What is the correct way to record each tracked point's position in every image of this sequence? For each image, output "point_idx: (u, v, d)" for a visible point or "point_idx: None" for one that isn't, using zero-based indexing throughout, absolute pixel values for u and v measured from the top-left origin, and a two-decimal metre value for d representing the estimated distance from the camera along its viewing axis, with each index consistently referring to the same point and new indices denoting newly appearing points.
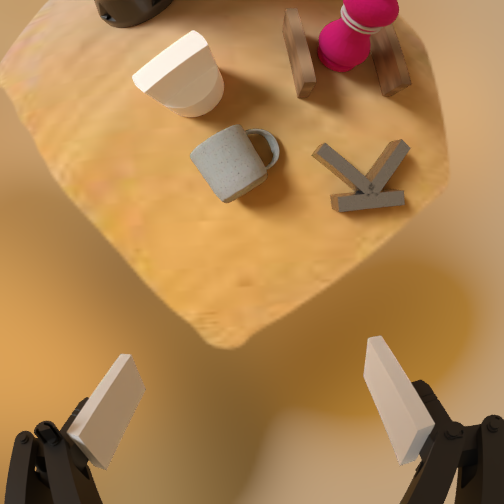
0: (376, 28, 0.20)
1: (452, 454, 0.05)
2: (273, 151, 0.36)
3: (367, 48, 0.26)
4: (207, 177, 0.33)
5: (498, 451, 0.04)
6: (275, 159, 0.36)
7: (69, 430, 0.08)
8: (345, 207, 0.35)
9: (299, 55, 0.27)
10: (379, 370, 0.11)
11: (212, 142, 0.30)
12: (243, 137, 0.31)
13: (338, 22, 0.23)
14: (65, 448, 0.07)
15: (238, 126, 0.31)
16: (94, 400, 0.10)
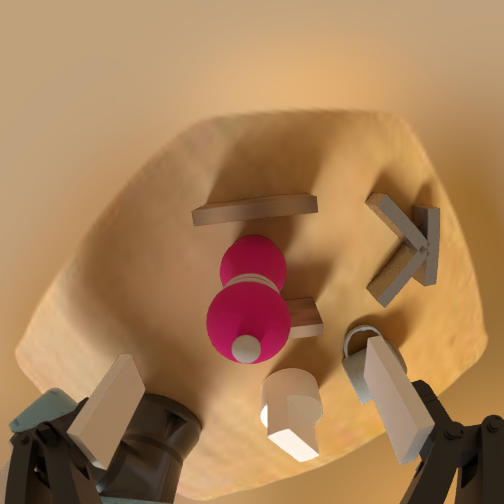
0: None
1: (452, 454, 0.05)
2: (366, 329, 0.36)
3: (271, 259, 0.27)
4: None
5: (498, 451, 0.04)
6: (375, 330, 0.35)
7: (69, 430, 0.08)
8: (434, 278, 0.30)
9: (288, 338, 0.30)
10: (379, 370, 0.11)
11: (364, 397, 0.31)
12: (361, 371, 0.32)
13: None
14: (65, 448, 0.07)
15: (349, 373, 0.33)
16: (94, 400, 0.10)
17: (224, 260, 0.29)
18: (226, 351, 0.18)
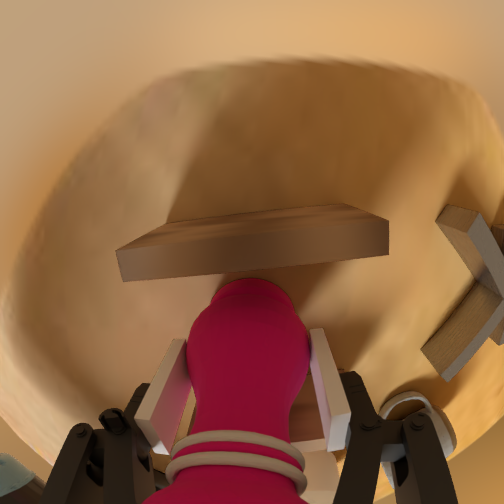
0: (298, 480, 0.06)
1: (373, 444, 0.07)
2: (410, 399, 0.21)
3: (284, 352, 0.12)
4: None
5: (429, 448, 0.06)
6: (423, 400, 0.20)
7: (136, 415, 0.09)
8: None
9: (306, 450, 0.15)
10: (314, 359, 0.13)
11: None
12: None
13: None
14: (131, 439, 0.08)
15: None
16: (158, 383, 0.11)
17: (190, 341, 0.14)
18: None
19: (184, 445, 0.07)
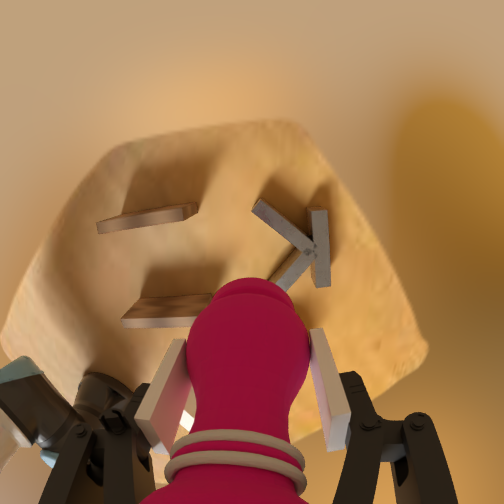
0: (298, 479, 0.06)
1: (373, 444, 0.07)
2: None
3: (284, 351, 0.12)
4: None
5: (428, 448, 0.06)
6: None
7: (137, 415, 0.09)
8: (327, 280, 0.35)
9: (175, 326, 0.35)
10: (315, 359, 0.13)
11: None
12: None
13: None
14: (131, 439, 0.08)
15: None
16: (158, 383, 0.11)
17: (190, 341, 0.14)
18: None
19: (183, 444, 0.07)
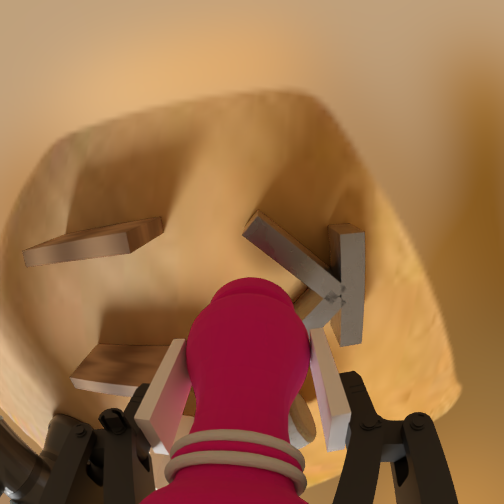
0: (298, 479, 0.06)
1: (373, 444, 0.07)
2: None
3: (284, 351, 0.12)
4: None
5: (428, 448, 0.06)
6: None
7: (136, 416, 0.09)
8: (357, 335, 0.22)
9: None
10: (314, 359, 0.13)
11: None
12: None
13: None
14: (131, 439, 0.08)
15: None
16: (157, 383, 0.11)
17: (190, 340, 0.14)
18: None
19: (183, 444, 0.07)
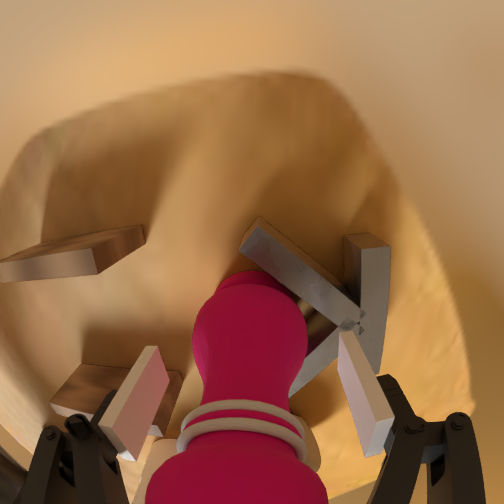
0: (299, 447, 0.08)
1: (415, 448, 0.06)
2: None
3: (284, 335, 0.14)
4: None
5: (466, 448, 0.05)
6: None
7: (101, 422, 0.09)
8: (375, 365, 0.18)
9: None
10: (347, 363, 0.12)
11: None
12: None
13: None
14: (96, 442, 0.08)
15: None
16: (124, 391, 0.11)
17: (197, 327, 0.15)
18: None
19: (194, 416, 0.09)
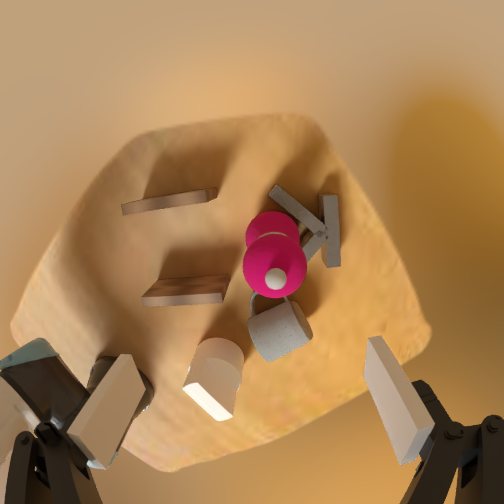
0: None
1: (452, 454, 0.05)
2: None
3: (288, 226, 0.34)
4: (290, 351, 0.40)
5: (498, 451, 0.04)
6: None
7: (69, 430, 0.08)
8: (337, 260, 0.38)
9: (194, 303, 0.37)
10: (378, 370, 0.11)
11: (264, 352, 0.38)
12: (259, 326, 0.39)
13: None
14: (65, 448, 0.07)
15: (249, 327, 0.40)
16: (94, 400, 0.10)
17: (250, 228, 0.35)
18: (259, 284, 0.24)
19: None
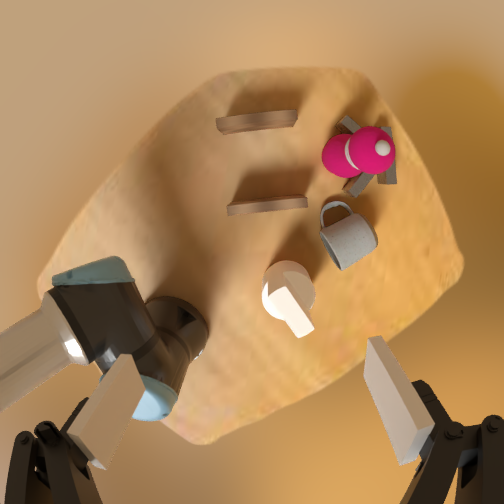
0: None
1: (452, 454, 0.05)
2: (337, 205, 0.46)
3: None
4: (360, 258, 0.44)
5: (498, 451, 0.04)
6: (345, 204, 0.45)
7: (69, 430, 0.08)
8: (394, 178, 0.42)
9: (281, 208, 0.41)
10: (379, 370, 0.11)
11: (340, 255, 0.42)
12: (335, 231, 0.43)
13: (350, 166, 0.37)
14: (65, 448, 0.07)
15: (325, 234, 0.43)
16: (94, 400, 0.10)
17: (330, 143, 0.39)
18: (368, 155, 0.28)
19: None
